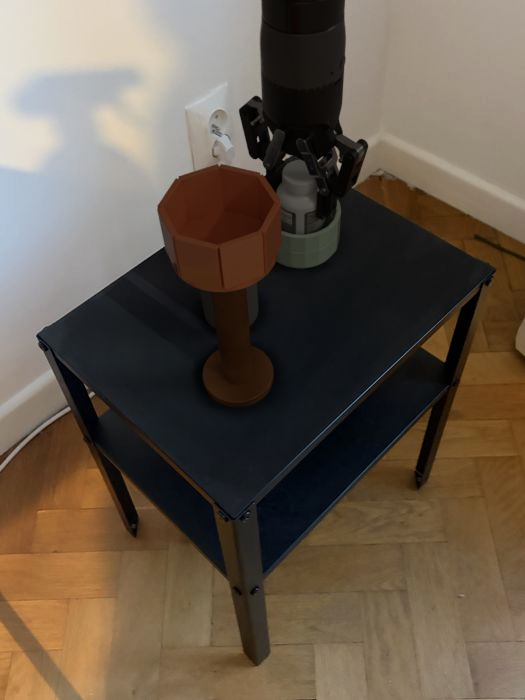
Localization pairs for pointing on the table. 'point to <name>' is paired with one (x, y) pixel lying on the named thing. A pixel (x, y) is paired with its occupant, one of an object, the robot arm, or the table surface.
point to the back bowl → (311, 244)
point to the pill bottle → (298, 200)
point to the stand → (235, 355)
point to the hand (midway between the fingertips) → (301, 203)
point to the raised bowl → (221, 227)
